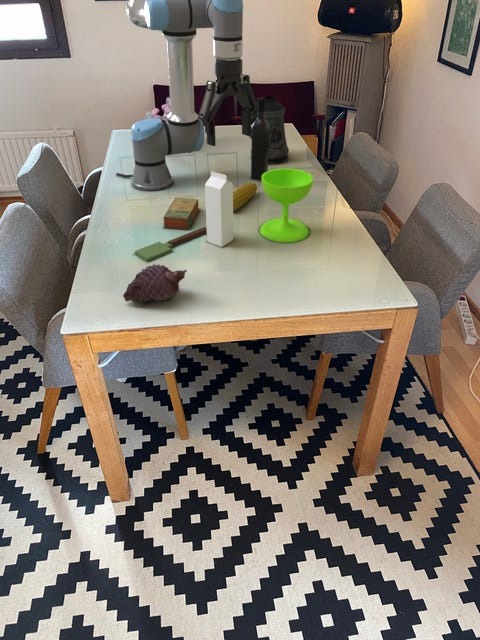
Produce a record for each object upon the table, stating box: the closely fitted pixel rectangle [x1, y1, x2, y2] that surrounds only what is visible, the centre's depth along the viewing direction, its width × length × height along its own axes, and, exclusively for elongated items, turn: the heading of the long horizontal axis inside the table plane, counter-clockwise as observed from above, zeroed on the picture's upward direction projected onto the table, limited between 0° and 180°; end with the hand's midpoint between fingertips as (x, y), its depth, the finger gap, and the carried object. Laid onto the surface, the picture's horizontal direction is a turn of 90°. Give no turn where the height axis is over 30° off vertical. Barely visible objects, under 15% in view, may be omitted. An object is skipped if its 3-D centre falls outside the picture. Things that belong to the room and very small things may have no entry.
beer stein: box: [248, 96, 290, 165], centre depth 216 cm, size 16×19×25 cm
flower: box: [142, 96, 171, 122], centre depth 232 cm, size 20×22×25 cm
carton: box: [163, 197, 199, 230], centre depth 174 cm, size 8×16×4 cm, turn 171°
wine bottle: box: [250, 97, 269, 181], centre depth 197 cm, size 6×6×30 cm
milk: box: [204, 171, 234, 248], centre depth 156 cm, size 6×6×22 cm
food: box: [233, 182, 258, 211], centre depth 185 cm, size 21×6×6 cm, turn 155°
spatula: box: [134, 226, 207, 263], centre depth 161 cm, size 26×6×1 cm, turn 133°
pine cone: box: [122, 263, 187, 303], centre depth 134 cm, size 18×10×10 cm
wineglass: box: [259, 167, 314, 243], centre depth 163 cm, size 16×16×18 cm
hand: (229, 139), depth 148 cm, fingers open, 13 cm apart
